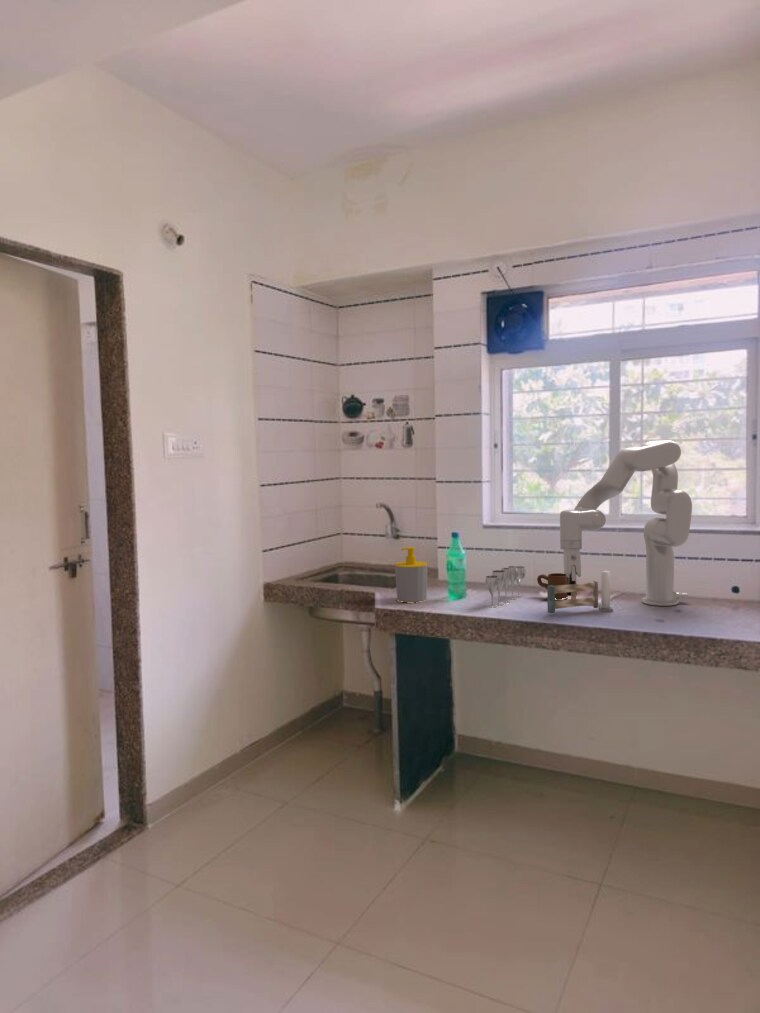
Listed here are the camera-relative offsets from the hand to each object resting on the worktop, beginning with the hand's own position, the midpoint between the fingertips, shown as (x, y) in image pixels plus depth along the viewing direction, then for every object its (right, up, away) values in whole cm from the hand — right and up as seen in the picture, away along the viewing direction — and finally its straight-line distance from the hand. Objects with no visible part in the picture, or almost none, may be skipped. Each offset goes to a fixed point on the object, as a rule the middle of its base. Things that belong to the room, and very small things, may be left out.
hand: (571, 595), depth 247 cm
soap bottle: (-57, -6, +25) cm, 62 cm away
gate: (0, -5, -4) cm, 6 cm away
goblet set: (-20, -5, +17) cm, 27 cm away
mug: (-2, -4, +22) cm, 22 cm away
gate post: (+12, -5, -1) cm, 13 cm away
